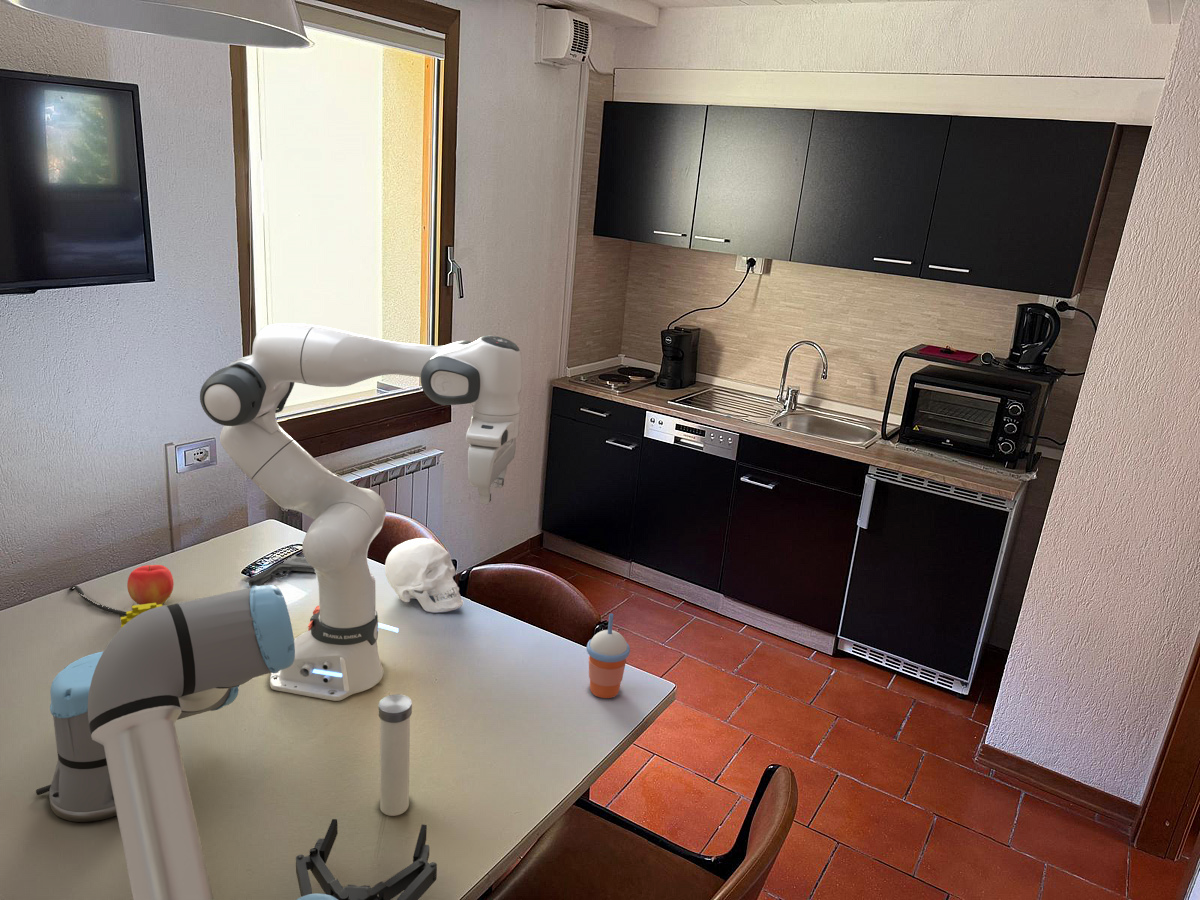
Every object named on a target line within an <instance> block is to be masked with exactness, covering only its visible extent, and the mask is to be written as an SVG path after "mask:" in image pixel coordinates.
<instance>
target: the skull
mask: <svg viewBox="0 0 1200 900" xmlns="http://www.w3.org/2000/svg"><path fill="white" fill-rule="evenodd" d="M384 573H385V577H386V580H387V582H388V584H389V585H390V588H392V590H393V591H394V592H395V593H396V594H397V596H398V598H399V599H400V600H401V601H402V602H404V603H410V601H411V599H416V600H417V601H418V603H419V604H420V605H421V607H422V609H423V610H424V612H425V611H426V612H427V613H433V614H435V613H436V614H437V613H447V612H451V611H454V610H455V611H456V610H458V609H460V608H463V606H464V602H465V601H464V600H463V599H462V596H461V594H460V587H459V586H458V584H457V583H456V581H455V580H454V577H455V576H456V574H457V572H456V568H455V566H454V564H453V561H452V559H451V554H450V552H449V551H447V550H446V549H445V548H444V547H443V545H441V544H440V543H439V542H437V541H436V540H434V539H431V538H425V537H419V538H417V537H416V538H413V539H408V540H405V541H403V542H401V543H399V544H397V545H396V546H393V548H392V549H391V551H389V553H388V554H387V557H386V559H385V563H384ZM430 596H431V597H433V599H434V600H432V599H431V597H430Z"/></svg>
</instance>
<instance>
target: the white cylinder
mask: <svg viewBox="0 0 1200 900" xmlns="http://www.w3.org/2000/svg"><path fill="white" fill-rule="evenodd" d="M379 725H380V726H379V730H380V731H379V739H380V740H379V757H380V758H379V781H380V782H379V797H380V798H379V809H380V811H381V812H382V813H383V814H384V815H386V816H391V817H394V816H395V817H396V816H400V815H402V814H404V813H405V812H407V810H408V809H409V805H410V748H411V747H410V746H411V745H410V741H411V740H410V738H411V737H410V736H411V735H410V734H411V733H410V732H411V716H410V717H409V718H408V719H406V720H404V721H402V722H397V723H389V722H385V721H383V720H382V719H380V718H379Z"/></svg>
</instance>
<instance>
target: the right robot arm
mask: <svg viewBox="0 0 1200 900" xmlns="http://www.w3.org/2000/svg"><path fill="white" fill-rule="evenodd" d="M522 359H523V358H522V352H521V350H520V348H519V346H518V345H517V344H516V343H515V342H513V341H511V340H510V339H508V338H504V337H501V336H497V335H483V336H480V337H479V338H478V339H477V340H474V341H471V340H459V341H455V342H452V343H451V342H450V343H448V344H445V345H430V344H429V345H428V344H422V343H421V344H420V343H413V342H412V343H410V342H404V341H403V342H402V341H392V340H388V339H387V340H386V339H380V338H376V337H371V336H367V335H362V334H357V333H353V332H351V331H346V330H341V329H337V328H332V327H327V326H322V325H314V324H306V323H270V324H267V325H265V326H263V327H261V328H260V330H258V332H257V333H256V335H255V337H254V339H253V342H252V351H251V354H249V355H246V356H243V357H240V358H237V359H235V360H233V361H232V362H230V363H229V364H228V365H226V366H224V367H222V368H219V369H218V370H216V371H215V372H213V373H212V374H211V375H210V376H209V377H207V379H206V380H205V381H204V383H203V384H202V385H201V388H200V391H199V401H200V406H201V408H202V410H203V412H204V413H205V415H206V416H207V417H208V418H209V419H210V420H212V421H213V422H214V423H216V424H218V425H221V426H222V428H221V430H220V434H219V442H220V445H221V447H222V448H223V450H224V451H225V452H226V454H227V455H228V456H229V458H230V459H231V460H232V461H233V463H234V464H235V465H236V467H238V468H239V470H241V471H242V472H243V473H244V475H245V476H246V477H247V478H248V479H250V480H251V482H253V483H254V484H255V485H256V486H257V487H258V488H259V489H261V490H262V492H264V493H265V494H266V495H267V496H268V497H269V498H271V500H272V501H273V502H275V503H276V504H277V505H278V506H279V507H281V508H283V509H284V510H285V509H286V510H290V511H291V510H292V511H296V512H299V513H301V514H303V515H306V516H307V517H309V518H310V519H312V520H313V521H312V523H311V524H310V525H309V527H308V529H307V531H306V533H305V535H304V538H303V540H302V545H301V547H302V555H303V557H305V559H306V560H307V562H308V563H309V564H310V565H311V566H312V567H313V568H314V569H315V572H314V573H315V576H316V580H317V585H318V605H316V607H314V610H313V611H312V615H311V617H310V619H309V623H308V625H307V628H308V629H307V630H306V631H304V632H302V633H301V634H299V635H297V636H296V637H294V645H295V659H294V662H293V664H292V665H291V666H290V667H288V668H286V669H282V670H280V671H279V672H278V673H270V676H269V686H270V688H271V689H272V690H274V691H278V692H283V693H289V694H295V695H300V696H304V697H305V696H306V697H310V698H315V699H316V698H317V699H322V700H327V701H334V702H339V701H340V702H341V701H342V700H344V699H346V698H348V697H350V696H351V695H355V694H358V693H363V692H364V691H367V690H369V689H371V688H373V687H374V686H377V685H378V684H379V682H380V681H382V680H383V677H384V668H383V666H382V662H381V658H380V654H379V649H378V641H377V640H378V637H379V629H383V630H387V631H391V632H394V633H399V628H398V627H394V626H391V625H388V624H384V623H380V622H379V619H378V617H379V615H378V611H377V610H376V578H375V576H374V575H373V573H372V572H371V571H370V566H369V562H368V551H369V548H370V546H371V544H372V542H373V540H375V538H376V537H377V536H378V535H379V533H380V532H381V530H382V529H383V526H384V524H385V519H386V516H387V507H386V503H385V501H384V499H383V498H382V497H381V495H380V494H379V493H378V492H376V491H374V490H373V489H370V488H366V487H359V486H356V485H355V484H353V483H351V482H350V481H348V480H345V479H344V478H342V477H340V476H339V475H337V474H335V473H334V472H332V471H330V470H329V469H328V468H326V467H325V466H324V465H322V464H321V463H320V462H319V461H317V459H315V458H314V457H313V456H312V455H311V454H310V453H309V452H308V451H307V450H306V449H304V447H302V446H301V445H300V444H299V443H298V442H297V441H296V440H295V439H294V438H292V436H291V435H289V434H288V433H287V431H285V430H284V429H283V428H282V427H281V426H280V425H279V423H278V421H277V419H276V414H277V413H278V414H279V413H281V412H282V411H283V410H284V407H285V406H286V403H287V401H288V398H289V396H290V395H291V393H292V391H293V389H294V386H295V383H297V384H302V385H307V386H314V387H322V388H341V387H342V388H343V387H350V386H352V385H355V384H358V383H360V382H364V381H366V380H369V379H372V378H373V379H374V378H377V377H381V376H389V375H390V376H391V375H398V376H407V377H415V378H419V379H420V380H419V381H420V386H421V388H422V391H423V392H424V394H425V395H426V397H428V399H429V400H431V401H433V402H434V403H435V404H438V405H441V406H459V405H466V404H467V405H468V404H470V405H471V406H472V408H471V419H470V425H469V426H468V429H467V431H466V433H465V443H466V444H468V445H469V446H468V448H467V474H468V475H467V478H468V483H469V485H470V487H474V488H477V491H478V494H479V504H481V505H486V506H488V505H489V504H490V502H491V501H492V493H491V487H492V485H493V487H494V488H495V489H496V488H497V489H501V488H503V487H504V485H505V477H506V474H507V470H508V465H510V463H511V462H512V461H513V459H514V458H515V455H516V447H517V446H516V445H517V444H516V441H517V440H516V439H517V437H519V435H520V425H521V424H520V423H521V405H520V394H521V391H522V389H523V360H522ZM73 587H75V588H74V589H72V588H73ZM74 590H75V592H77V593H78V595H79V596H80V597H81V598H82V599H83V600H84V601H86V602H87V603H89V604H90V605H92V606H94V607H95V608H98V609H101V610H103V611H106V612H108V613H112V614H114V615H115V614H116V615H120V616H122V617H125V616H127V615H126V611H124V610H120V609H116V608H113V609H112V607H110V606H107V605H104V606H103V607H102V605H103V604H102V603H99V604H100V605H97V604H95V603H93V602H92V601H90V600H88V599H87V598H85V597H83V596H81V595H80V594H82V595H84V594H85V593H84V592H83V589H81V588H80V587H79V586H78V585H71V586H70V587H69V588H68V591H74ZM79 593H80V594H79ZM101 604H102V605H101ZM106 606H107V607H106ZM109 607H110V608H109ZM108 608H109V609H108ZM115 609H116V610H115Z"/></svg>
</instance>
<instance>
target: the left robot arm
mask: <svg viewBox="0 0 1200 900" xmlns="http://www.w3.org/2000/svg"><path fill="white" fill-rule="evenodd" d="M294 639H295V637H294V631H293V626H292V621H291V617H290V613H289V609H288V605H287V602H286V599H285V597H284V594H283V592H282V591H281V589H280V588H279V587H278V586H277V585H275V584H265V585H260V586H252V587H251V586H250V587H248V588H243V589H237V590H233V591H229V592H228V591H227V592H224V593H220V594H214V595H209V596H206V597H201V598H195V599H192V600H187V601H181V602H177V603H173V604H168V605H163V606H160V607H156V608H153V609H150V610H147V611H145V612H143V613H141V614H139V615H137V616H136V617H134V618H133V619H132V620H130V621H129V622H127V623H126V624H125V625H124V626H123V627H122V628H121V627H120V628H119V630H118V631H117V632H116V633H115V634H114V636H112V638H111V639H110V640H109V642H108V644H107V645H106V647H105V648H104V650H103V651H98V652H95V653H91V654H88V655H85V656H83V657H80V658H78V659H76V660H75V661H73V662H71V663H69V664H68V665H66V666H65V667H64V668H63V669H62V670H61V671H59V672H58V673H57V674H56V676H55V677H54V679H53V680H52V682H51V685H50V689H49V690H50V691H49V692H50V705H49V711H50V714H51V716H52V718H53V719H52V720H53V727H54V735H55V743H56V744H55V745H56V752H57V763H56V766H55V770H54V773H53V777H52V780H51V784H48V785H45V786H42V787H40V788H36V790H35V794H36V796H40V795H43V794H45V793H48V797H49V806H50V809H51V811H52V812H53V813H54V814H55V815H56V816H57V817H59V818H60V819H63V820H65V821H69V822H75V823H76V822H77V823H90V822H97V821H102V820H107V819H110V818H113V817H117V821H118V827H119V833H120V837H121V842H122V848H123V853H124V858H125V864H126V869H127V874H128V879H129V884H130V890H131V895H132V900H215V899H214V895H213V891H212V890H213V889H212V886H211V881H210V876H209V872H208V868H207V864H206V859H205V853H204V849H203V845H202V841H201V837H200V832H199V827H198V823H197V818H196V814H195V809H194V804H193V801H192V796H191V792H190V787H189V784H188V778H187V773H186V769H185V765H184V764H185V763H184V760H183V756H182V751H181V747H180V742H179V737H178V733H177V729H176V728H177V727H176V722H177V721H178V720H182V719H185V718H189V717H192V716H196V715H199V714H203V713H206V712H207V713H208V712H214V711H218V710H220V709H222V708H223V707H226V706H229V705H231V704H232V703H233V702H235V700H236V699H237V697H238V695H239V687H240V686H242V685H244V684H246V683H248V682H249V681H251V680H253V679H254V678H257V677H261V676H264V675H269V674H271V673H278V672H279V671H280V670H282V669H286V668H288V667H290V666H291V665H292V664H293V662H294V659H295V645H294ZM427 825H428V824H421V826H420V829H419V833H418V837H417V840H416V844H415V848H414V851H413V855H412V863H411V864H409V865H408V866H405V868H403V869H401V870H400V871H399V872H397V873H396V874H394V875H392V876H391V877H389V878H388V879H387V880H385V881H380V882H378V883H376V884H375V885H373V886H372V887H371V885H367V884H366V885H365V884H364V885H356V884H347V885H346V886H343V885H342V883H341V882H340V881H339V879H338V878H336V877H335V875H333V873H332V871H331V870H330V869H329V867H328V865H327V862H328V859H329V857H330V854H331V851H332V849H333V846H334V843H335V841H336V839H337V836H338V819H337V818H332V819H331V820H330V824H329V826H328V828H327V831H326V834H325V835H324V837H323V838H321V837H319V838H318V839H317V840H316V842H315V844H314V846H313V847H312V848H310V849H309V854H308V855H304V854H298V855H295V874H296V880H297V884H298V888H299V893H300V896H299V897H298V898H297V899H296V900H393V899H394V898H395V897H397V896H398V895H399V896H398V897H397V899H396V900H420V899H421V898H422V896H423V895H424V894H425V893H426V892H427V891H428V889H429V888H430V887H432V885H433V884H434V883H435V882H436V881H437V877H438V876H437V875H438V874H437V873H438V864H437V862H434V861H432V862H428V861H429V859H430V845H429V844H426V842H427V833H428V831H427V829H428V828H427V827H428V826H427ZM309 871H310V872H311V873H312V876H313V877H314V878H315V880H316V881H317V883H318V885H319V886H320V887H321V889H322V891H323V892H324V893H319V892H315V893H313V888H312V884H311V880H310V875H309Z"/></svg>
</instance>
